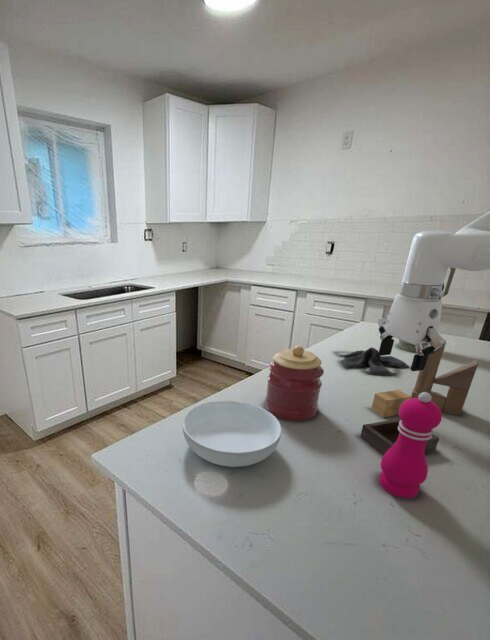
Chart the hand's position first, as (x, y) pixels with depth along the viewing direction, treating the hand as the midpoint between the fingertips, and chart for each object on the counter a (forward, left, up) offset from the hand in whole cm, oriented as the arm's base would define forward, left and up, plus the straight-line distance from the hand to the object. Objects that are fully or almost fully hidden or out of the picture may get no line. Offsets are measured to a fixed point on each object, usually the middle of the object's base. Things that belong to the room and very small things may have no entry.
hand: (399, 362), depth 87 cm
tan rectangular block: (0, 0, -14) cm, 14 cm away
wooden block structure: (-13, +1, -14) cm, 19 cm away
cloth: (-17, -28, -14) cm, 36 cm away
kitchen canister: (+23, -8, -14) cm, 28 cm away
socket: (+9, +12, -14) cm, 20 cm away
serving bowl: (+45, +4, -14) cm, 47 cm away
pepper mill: (+19, +23, -14) cm, 33 cm away
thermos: (-42, -35, -14) cm, 57 cm away
